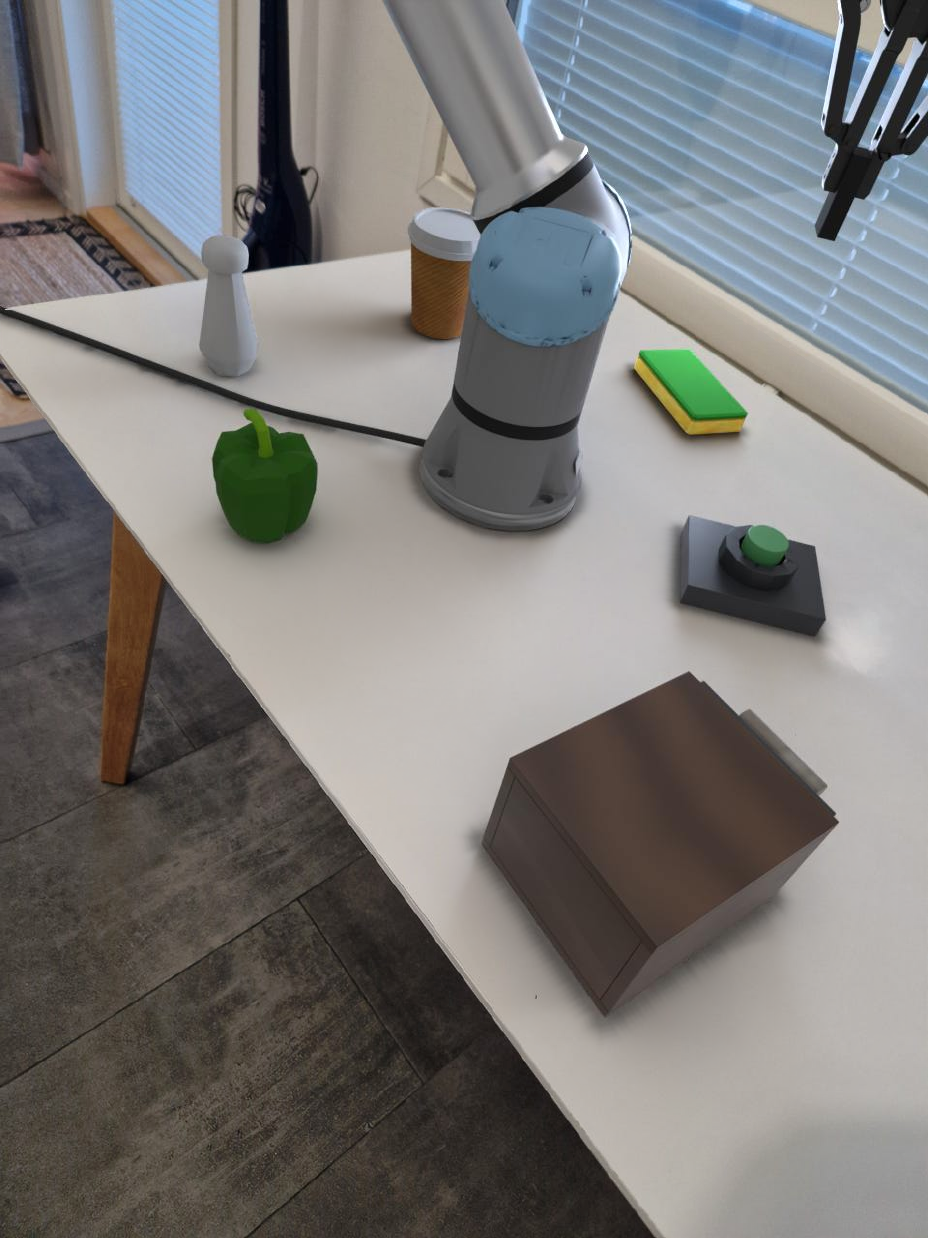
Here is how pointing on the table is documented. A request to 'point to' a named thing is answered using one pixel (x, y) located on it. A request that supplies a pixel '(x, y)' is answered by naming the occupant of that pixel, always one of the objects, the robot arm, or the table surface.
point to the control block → (749, 578)
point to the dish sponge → (690, 391)
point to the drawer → (779, 750)
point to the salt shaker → (227, 308)
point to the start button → (764, 545)
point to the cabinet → (649, 835)
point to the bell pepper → (264, 479)
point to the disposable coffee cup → (441, 269)
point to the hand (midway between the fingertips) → (824, 232)
